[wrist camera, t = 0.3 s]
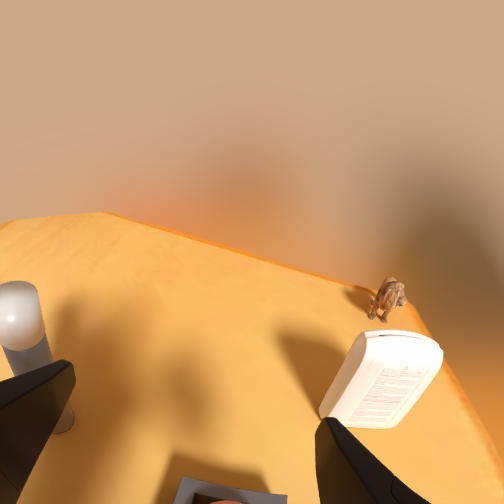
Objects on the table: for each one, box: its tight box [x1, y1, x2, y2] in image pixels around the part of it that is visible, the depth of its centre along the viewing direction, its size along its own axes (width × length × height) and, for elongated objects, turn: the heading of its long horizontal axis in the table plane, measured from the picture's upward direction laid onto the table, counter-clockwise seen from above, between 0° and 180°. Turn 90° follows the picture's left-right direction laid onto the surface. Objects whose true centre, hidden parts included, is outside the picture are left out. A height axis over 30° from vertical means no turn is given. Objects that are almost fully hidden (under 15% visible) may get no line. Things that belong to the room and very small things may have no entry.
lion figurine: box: [369, 277, 408, 323], centre depth 50 cm, size 15×5×9 cm, turn 158°
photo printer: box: [319, 329, 443, 429], centre depth 25 cm, size 10×4×12 cm, turn 81°
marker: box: [0, 281, 74, 434], centre depth 16 cm, size 4×4×14 cm
